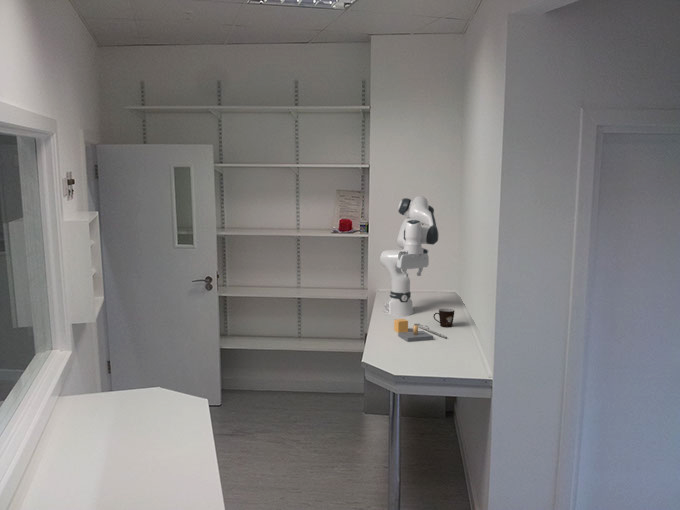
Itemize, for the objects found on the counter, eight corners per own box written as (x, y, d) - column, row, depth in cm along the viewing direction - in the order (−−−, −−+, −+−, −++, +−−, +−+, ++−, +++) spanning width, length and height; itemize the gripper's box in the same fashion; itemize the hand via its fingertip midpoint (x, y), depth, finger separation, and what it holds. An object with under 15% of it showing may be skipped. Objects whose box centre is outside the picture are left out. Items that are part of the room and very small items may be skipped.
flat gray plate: (398, 336, 305) (398, 323, 305) (422, 334, 310) (422, 322, 309) (407, 341, 294) (408, 329, 293) (433, 339, 298) (433, 327, 298)
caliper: (420, 328, 328) (413, 325, 326) (421, 323, 329) (414, 321, 326) (451, 341, 302) (444, 339, 300) (453, 336, 302) (445, 334, 300)
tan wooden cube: (394, 330, 318) (394, 319, 318) (403, 329, 320) (403, 318, 319) (398, 332, 313) (398, 321, 312) (407, 332, 315) (408, 320, 314)
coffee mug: (453, 326, 329) (453, 308, 328) (454, 329, 321) (455, 311, 320) (432, 325, 330) (432, 308, 329) (433, 329, 322) (433, 311, 321)
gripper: (402, 251, 306) (402, 278, 307) (430, 250, 318) (430, 275, 319) (394, 251, 311) (394, 277, 312) (422, 249, 323) (422, 274, 324)
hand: (412, 276), depth 315 cm, fingers open, 8 cm apart
